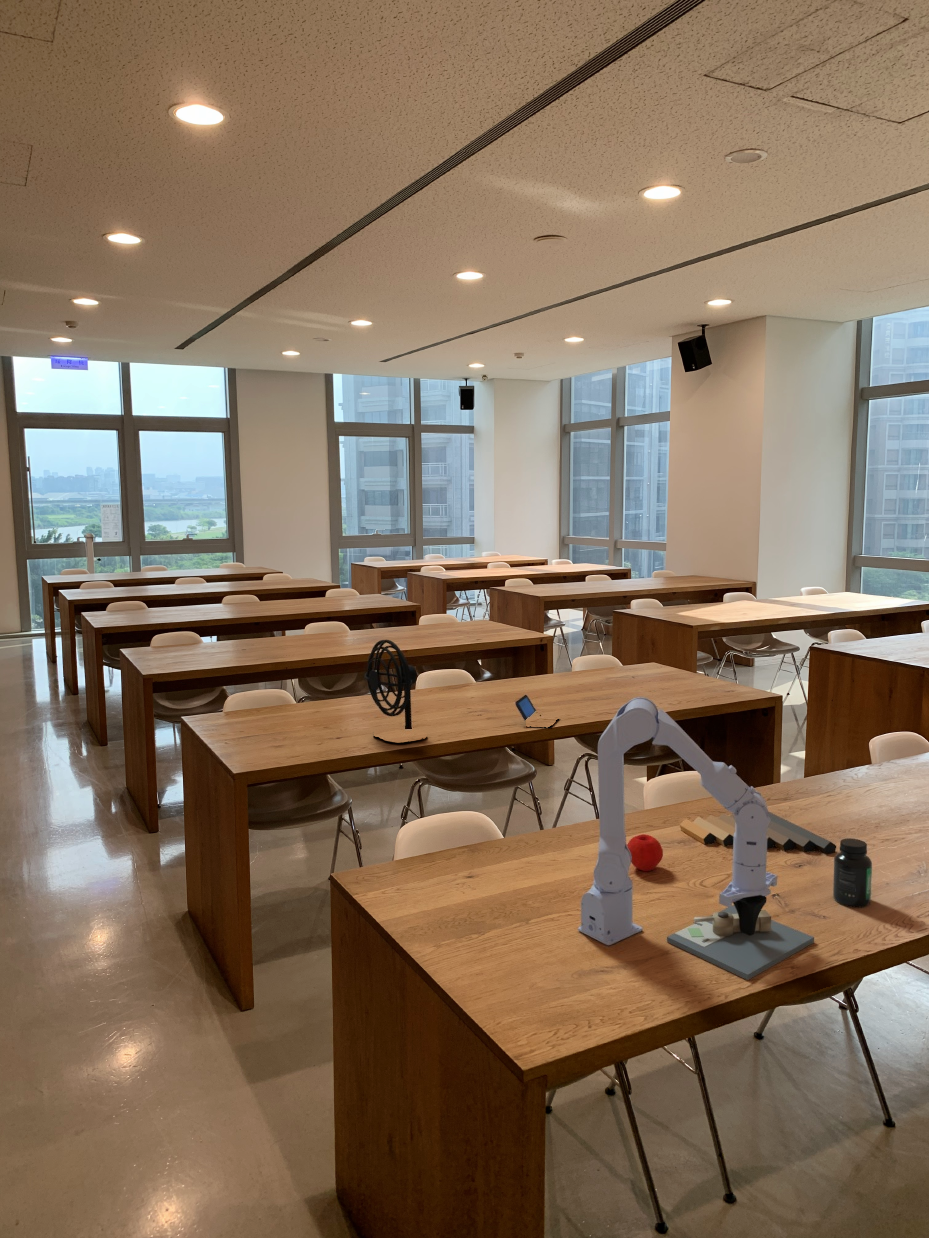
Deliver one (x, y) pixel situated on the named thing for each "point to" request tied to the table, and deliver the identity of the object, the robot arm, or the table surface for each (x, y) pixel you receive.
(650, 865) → the apple
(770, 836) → the pan flute
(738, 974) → the grey square board
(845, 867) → the supplement bottle
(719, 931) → the peg lever
